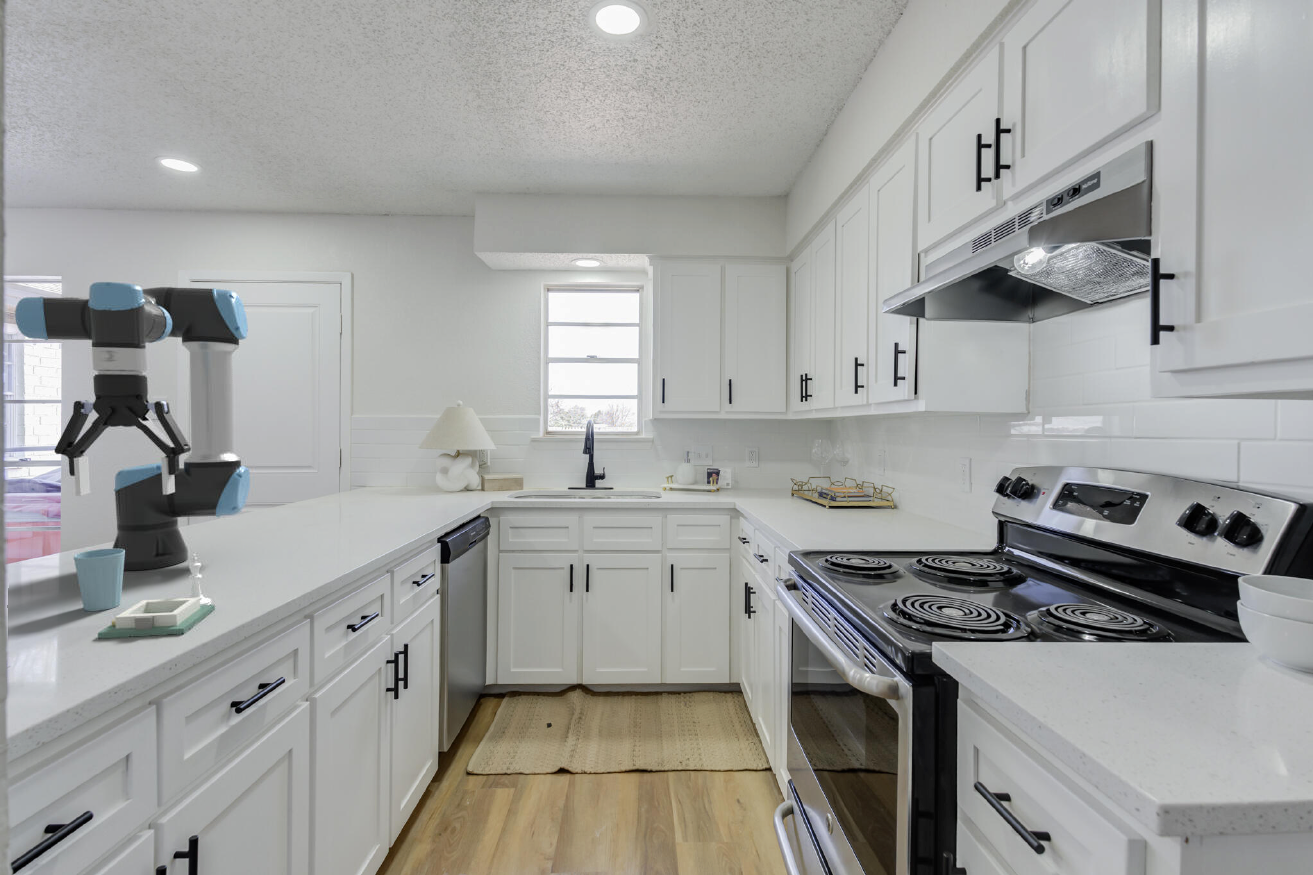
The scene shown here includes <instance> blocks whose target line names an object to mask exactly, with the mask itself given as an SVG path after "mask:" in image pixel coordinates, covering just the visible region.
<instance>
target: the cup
mask: <svg viewBox="0 0 1313 875" xmlns="http://www.w3.org/2000/svg"><path fill="white" fill-rule="evenodd" d="M124 558H125V550H123V549H112V548H101V549H91V550H86V551H82V552H79V553H76V554H74V555H73V560H74V565H75V571H76V575H77V580H78V584H79V590H80V595H81V601H82V605H83V609H84V610H85V611H88V612H98V611H106V610H111V609H114V608H116V607H118V606H120V605H121V604H122V602H121V601H122V590H123V589H122V588H123V580H124V579H123V578H124V570H123V569H124Z"/></svg>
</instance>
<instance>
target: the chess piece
mask: <svg viewBox="0 0 1313 875" xmlns="http://www.w3.org/2000/svg"><path fill="white" fill-rule="evenodd" d="M190 560H191V561H192V563H190V564H189V565H188V568H189V570H190V573H191V575H189V577H188V580H192V584H191V594H190V597H188V598H200V605H210V604H211V603H212V599H211V598H209V597H204V595H203V594H202V593H201V592H202V591H201V587H200V580H199V579H201V578H203V576H202V574H199V573H200V569H201V566H202V564H201V563H200V562H198V561H199V558H198V557H197V553H195V554H192V556H191V558H190ZM211 605H212V604H211Z"/></svg>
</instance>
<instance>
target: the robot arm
mask: <svg viewBox="0 0 1313 875" xmlns="http://www.w3.org/2000/svg"><path fill="white" fill-rule="evenodd" d="M88 292H89V293H88V294H89V296H73V297H72V296H71V297H50V296H49V297H47V296H46V297H45V296H36V297H35V296H31V297H29V296H28V297H22V298H21V299H20V300H19V301H18V302H17V304H16V307H15V311H14V313H15V314H14V317H15V323H16V325H17V329H18V330H19V332H20V333H21V334H22V335H23V336H25V337H26V338H28V339H33V340H45V341H48V340H49V341H51V340H52V341H53V340H57V341H58V340H59V341H61V340H63V341H68V340H69V341H91V351H92V352H91V355H92V369H93V371H95V372H97V374H94V376H93V377H92V378H93V394H94V396H95V399H94V402H91V401H89V400H75V401H74V403H73V410H72V414H71V417H70V419H69V420H68V423H67V425H65V429H64V431H63V432H62V434H61V436H60V438H59V441H58V442H57V443H56V446H55V448H54V453H55V454H56V455H62V456H65V457H67V460H68V472H69V475H70V476H71V477H74V485H75V496H76V497H77V496H79V497H81V496H86V495H88V494H91V486H90V485H91V483H90V467H89V463H90V462H89V456H85V453H86V452H87V450H89V448H90V447H91V446H92V445H93V444H94V442H96V441H97V439H98V438H99V437H100V436H101V435H102V434H103V433H104V432H105V431H106V430H107V429H108V428H109V427H110V428H112V427H113V428H114V427H115V428H116V427H124V428H129V427H136V429H139V430H141V432H143V434H144V435H145V436H146V437H148V439H150V440H151V442H152V443H153V444H154V445H155V446H156V447H157V448H158V449H159V450H160V451H162V453H164V455H165V456H163V457H161V458H160V462H157V463H149V464H148V463H147V464H144V465H137V466H136V465H135V466H132V467H127V468H123V469H119V471H118V472H116V474H115V476H114V477H115V478H114V481H115V482H114V489H113V491H114V498H115V500H114V502H115V512H116V530H117V531H116V532H117V533H116V536H115V539H114V542H113V544H112V548H111V549H123V550H125V558H124V569H123V571H141V570H142V571H143V570H151V569H161V568H165V567H170V566H174V565H178V564H180V563H184V562H185V561H187V560H188V559H189V551H188V550H189V549H188V547H187V543H186V542H185V540H184V538H183V535H182V533H181V531H180V529H179V520H178V519H179V518H195V517H196V518H197V517H198V518H199V517H217V518H219V517H222V516H223V517H224V516H234V515H237V514H239V513H240V512H241V511H242V510H243V509H244V508H245V505H246V503H247V500H248V496H249V492H250V486H251V476H250V470H249V468H248V467H246V466H244V465H243V466H242V460H241V457H239V456H238V455H237V454H236V453H235V452H234V409H233V408H234V400H233V399H234V398H233V387H234V386H233V354H234V352H236V351H237V350H238V349H239V348H240V340H245V339H247V337H248V330H249V328H248V319H247V314H246V310H245V307H244V304H243V302H242V301H243V300H242V299H241V298H240V296H239V295H238V294H237V293H236V292H235V291H232V290H228V289H220V288H219V289H218V288H214V287H213V288H201V287H198V288H197V287H195V288H194V287H171V286H168V287H167V286H161V287H150V288H142V287H141V286H139V285H138V284H137V285H136V284H134V283H125V282H114V281H111V282H110V281H97V282H92V284H91V285H89V291H88ZM166 338H181V345H182V346H183V347H184V348H185V349H186V350H187V351H188V352H189V372H190V373H189V374H190V376H189V380H190V383H189V384H190V386H189V387H190V389H189V390H190V392H189V393H190V395H189V396H190V431H191V432H190V441H191V442H190V444H191V445H190V444H189V442H188V441H187V439H186V437H185V436H184V434H183V432H182V430H181V429H180V427H179V426H178V424H177V423H176V421H175V419H174V418H173V416H172V414H171V410H170V404H169V402H168V401H167V400H159V401H158V400H157V401H155V402H150V401H149V398H148V395H149V390H148V389H149V388H148V376H146V374H144V373H143V372H146V371H147V370H148V365H147V354H146V353H147V352H146V349H147V348H146V346H147V345H146V344H147V343H149V344H151V343H157V342H160V341H163V340H166ZM150 410H151V411H152V413H153V414H154V415H155V416H156V418H157V420H158V422H159V423H160V425H161V427H162V428H163V430H164V431H165V433H166V435H167V437H166V435H165V434H164V433H163V432H162V431H161V430H160V429H159V428H158V427H157V426H156V425H155V424H154V421H153V420H152V419H150V418H149V417H148V416H147V415H148V413H149V412H150ZM93 411H94V412H95V413H96V414H97V415H98V416H96V418H95V419H94V421H93V422H92V423H91V425H90V427H88V429H87V430H86V431H85V432H84V433H83V434H82V435H81V436H80V434H81V431H82V430H83V428H84V425H85V424H86V422H87V420H88V419H89V416H90V414H91V413H92V412H93ZM79 436H80V437H79ZM78 438H79V439H78ZM168 438H169V439H170V440H169V439H168ZM190 451H191V452H190ZM189 452H190V454H189V456H188V457H186V458H185V459H184V461H183V467H181V468H180V456H181V455H183V454H186V453H189Z"/></svg>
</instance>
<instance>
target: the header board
mask: <svg viewBox="0 0 1313 875" xmlns="http://www.w3.org/2000/svg"><path fill="white" fill-rule="evenodd" d="M213 610H214V611H215V610H216V605H215V604H211V605H200V598H189V597H188V598H187V597H183V598H164V599H142V600H141V601H139V602H138V603H136V604H134V605H133V606H131V607H130V608H127V609H126V610H124V611H123V612H121V613H119V614H118V615H116V616H115V620H112V621H111V624H110V625H108V626H107V627H105V628H103V629H101V630H100V631H99V632H97V639H98V638H101V639H116V638H117V639H119V638H130V637H129V636H132V637H131V638H134V637H133V636H139V637H151V636H150V635H158V636H168V635H167V634H177V635H185V634H186V633H187V632H189V631H190V630H191V629H192V627H193V626H194V625H195V624H196V623H197V622H199V621H200V620H201V621H203V620H204V619H205V618H207V616H206V615H208V614H209V613H210V614H212V613H211V611H213ZM214 611H213V612H214ZM210 614H209V615H210ZM209 615H208V616H209ZM204 617H205V618H204ZM203 618H204V619H203ZM202 619H203V620H202ZM201 621H200V622H201ZM200 622H199V623H200ZM196 625H197V624H196ZM196 625H195V626H196ZM195 626H194V627H195ZM194 627H193V628H194ZM190 628H191V629H190ZM189 629H190V630H189ZM188 630H189V631H188ZM186 631H187V632H186ZM182 633H183V634H182ZM184 633H185V634H184ZM118 637H119V638H118Z"/></svg>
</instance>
